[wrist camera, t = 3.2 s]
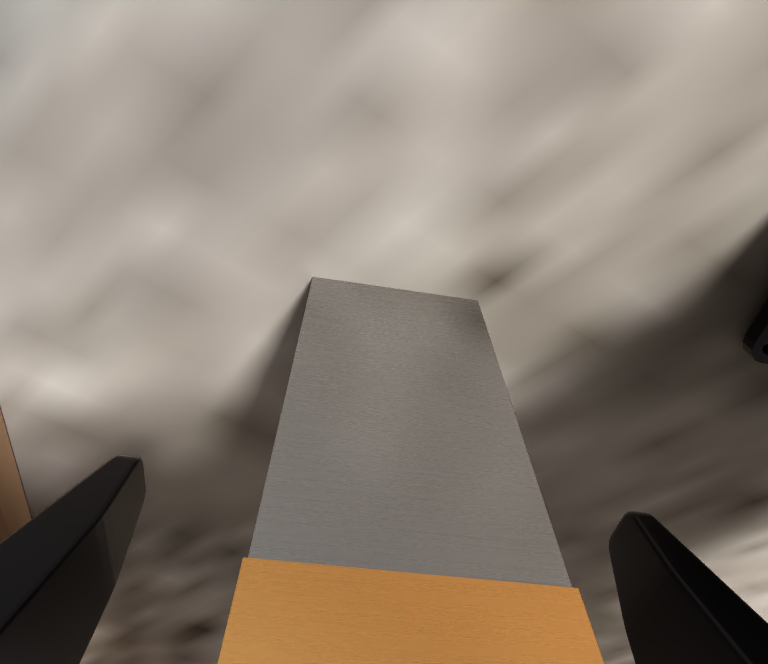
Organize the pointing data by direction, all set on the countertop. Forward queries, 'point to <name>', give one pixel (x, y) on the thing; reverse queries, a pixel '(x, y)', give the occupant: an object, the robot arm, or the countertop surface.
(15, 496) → the block
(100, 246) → the countertop surface
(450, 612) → the square bit
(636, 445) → the countertop surface
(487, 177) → the countertop surface
